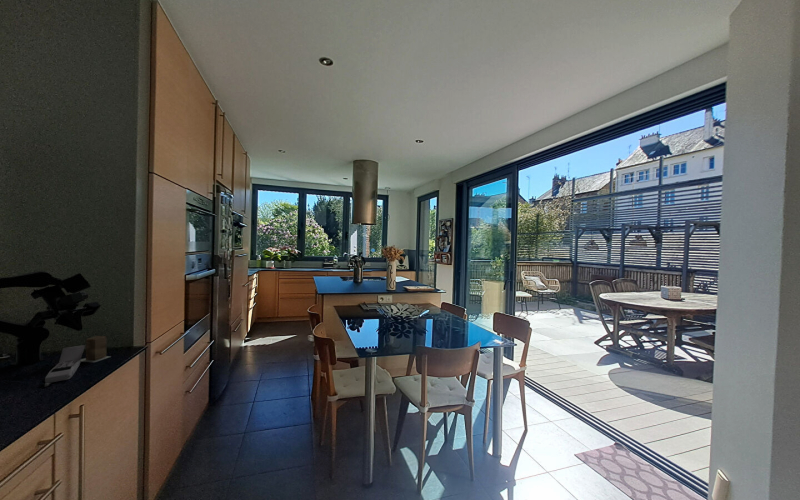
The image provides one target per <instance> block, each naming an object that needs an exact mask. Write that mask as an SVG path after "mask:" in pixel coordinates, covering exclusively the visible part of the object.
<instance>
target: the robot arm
mask: <svg viewBox="0 0 800 500" xmlns="http://www.w3.org/2000/svg"><path fill="white" fill-rule="evenodd" d="M91 286H92V285H91V284H90V282H88V280H87V279H85V277H84V276H83V275H82V273H80V272H78V273H76V274H73V275H71V276H69V277H66V278H63V279H61V278H60V277H58V278H57V277H55V276H53V275H52V274H51V273H49V272H48V271H45V270H35V271H33V272H26V273H22V274H18V275H12V276H2V277H1V276H0V289H8V288H18V287H19V288H39V289H33V291H32V292H31V293H30V296H31V298H32V299H34V300H36V299H39V298H41V300H43V302H44V303H45V304H46V305H47V306H46V310H42V311H37V312H35V315H34V316H32V318H31V320H30V319H27V320H26V322H15V321H10V320H6V319H5V320H4V319H0V333H2V334H8V335H11V336H13V337H15V338H17V339H16V340H15V344H16V348H15V353H16V354H15V361H14V362H10V365H11V366H17V367H24V366H27V365H32V364H35V363H40V362H43V361H46V360H47V359H46V358H42V357H41V345H42V343H43V342H44V341H46V340H47V339H48V338H49V336H50V330H49V329H48V327H47V326H46V321H50V320H53V319H54V320H55V322H54V323H53V324H54V325H60V326H62V327H66V328H69V329H72V330H74V331H78V332H81V331H82V330H83V322H82V321H83V320H82V317H89V316H93V315H95V314H96V312H98V311H99V309H100V308H101V306H102V305H101V304H100V303H99V302H98V301H92V302H87V303H84V305H82V307H79V306H80V305H81V304H80V303H81V302H84V301H85V300H86V299H88V298H89V294H88V293H87V292H86V290H87V289H90V288H92V287H91ZM65 292H66V293H67V294H66V293H65Z"/></svg>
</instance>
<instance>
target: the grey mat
mask: <svg viewBox="0 0 800 500" xmlns="http://www.w3.org/2000/svg"><path fill="white" fill-rule="evenodd" d="M111 357H112V356H110V355H109V356H108V355H106V357H104V358H101V359H98V360H95V361H94V360H86V357H85V358H81V360H80V363H81V362H83V363H97V362H100V361H103V360H106V359H108V358H111Z"/></svg>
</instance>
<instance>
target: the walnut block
mask: <svg viewBox="0 0 800 500" xmlns="http://www.w3.org/2000/svg"><path fill="white" fill-rule="evenodd" d="M106 356H107V336H103V335H96V336H93V337H92V336H91V337H89V338H86V339H85V358H86V360H94V361H95V360H98V359H101V358H104V357H106Z"/></svg>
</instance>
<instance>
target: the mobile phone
mask: <svg viewBox="0 0 800 500" xmlns="http://www.w3.org/2000/svg"><path fill="white" fill-rule="evenodd" d="M84 350H86V344H84V345H83V344H82V345H75V346H69V347H63V348H62V350H61V354H60V358H59V361H58V363H57V364H55V366H54V367H53V368H52V369H50V370H49V372H48V373H47V375H46V376H45V378H44V382H45V383H44V387H49V386H50V385H51V384H52V383H55V382H56V383H57V382H60V381H61V382H62V381H67V380H70V379H71V378H73V376H74V374H75V373H76V371H77V370H78V368H79V367H80V365H81V361H80V360H81V359H82V357H83V354H84Z"/></svg>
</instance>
